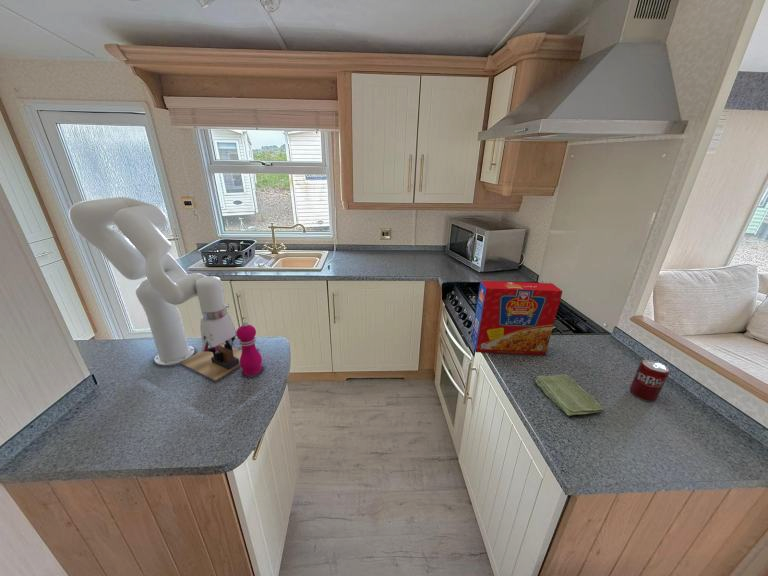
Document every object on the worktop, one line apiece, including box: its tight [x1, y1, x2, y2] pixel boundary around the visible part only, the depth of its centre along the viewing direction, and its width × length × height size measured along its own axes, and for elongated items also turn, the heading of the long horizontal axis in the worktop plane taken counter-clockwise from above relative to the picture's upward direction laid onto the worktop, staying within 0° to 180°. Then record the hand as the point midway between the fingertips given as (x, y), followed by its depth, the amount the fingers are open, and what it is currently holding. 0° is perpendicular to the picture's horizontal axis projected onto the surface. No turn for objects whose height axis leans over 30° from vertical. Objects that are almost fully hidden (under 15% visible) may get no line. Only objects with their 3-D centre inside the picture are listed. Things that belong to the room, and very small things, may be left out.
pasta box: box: [470, 280, 563, 356], centre depth 121 cm, size 28×8×28 cm, turn 88°
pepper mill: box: [236, 321, 263, 376], centre depth 104 cm, size 7×7×20 cm
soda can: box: [629, 359, 671, 403], centre depth 100 cm, size 7×7×12 cm
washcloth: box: [534, 373, 604, 417], centre depth 100 cm, size 13×18×3 cm
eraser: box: [211, 345, 239, 370], centre depth 110 cm, size 9×4×6 cm, turn 62°
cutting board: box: [179, 342, 242, 381], centre depth 113 cm, size 20×16×1 cm
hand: (224, 357), depth 110 cm, fingers open, 3 cm apart
